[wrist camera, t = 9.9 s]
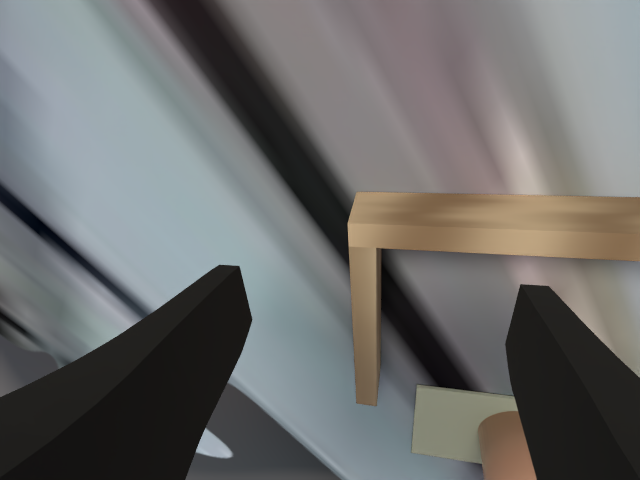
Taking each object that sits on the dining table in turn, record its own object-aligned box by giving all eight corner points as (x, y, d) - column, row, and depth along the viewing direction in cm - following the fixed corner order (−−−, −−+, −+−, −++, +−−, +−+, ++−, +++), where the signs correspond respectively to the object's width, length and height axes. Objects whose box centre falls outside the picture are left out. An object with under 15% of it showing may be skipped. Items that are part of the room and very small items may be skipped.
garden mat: (662, 414, 23) (663, 417, 23) (617, 482, 27) (618, 485, 27) (416, 384, 26) (416, 387, 26) (411, 450, 30) (411, 452, 30)
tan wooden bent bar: (924, 202, 15) (1025, 248, 12) (749, 407, 21) (792, 462, 19) (356, 191, 19) (347, 223, 17) (362, 363, 26) (356, 403, 24)
